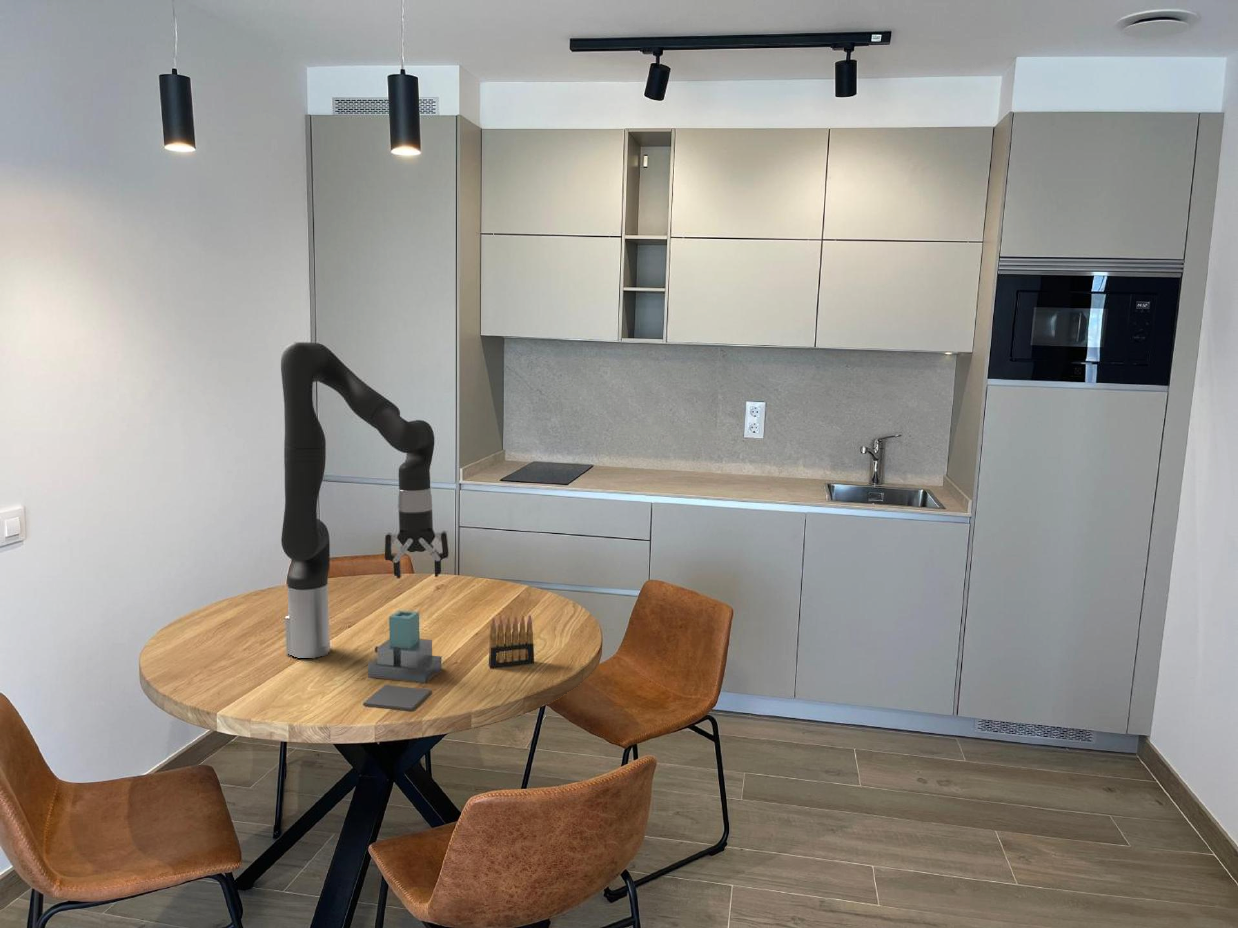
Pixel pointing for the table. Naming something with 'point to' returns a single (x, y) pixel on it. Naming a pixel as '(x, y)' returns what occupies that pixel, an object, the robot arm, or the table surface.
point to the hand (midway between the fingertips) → (417, 576)
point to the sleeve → (404, 629)
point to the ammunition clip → (511, 644)
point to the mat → (397, 697)
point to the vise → (405, 662)
